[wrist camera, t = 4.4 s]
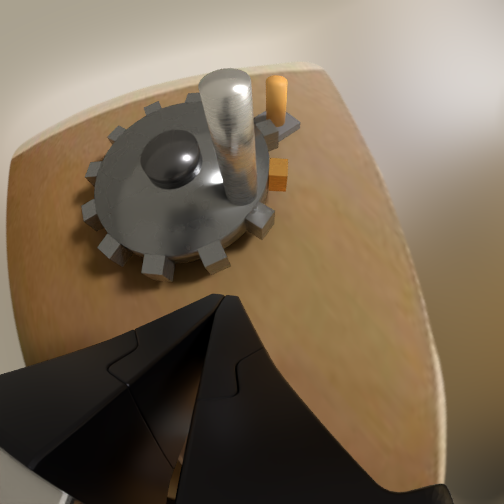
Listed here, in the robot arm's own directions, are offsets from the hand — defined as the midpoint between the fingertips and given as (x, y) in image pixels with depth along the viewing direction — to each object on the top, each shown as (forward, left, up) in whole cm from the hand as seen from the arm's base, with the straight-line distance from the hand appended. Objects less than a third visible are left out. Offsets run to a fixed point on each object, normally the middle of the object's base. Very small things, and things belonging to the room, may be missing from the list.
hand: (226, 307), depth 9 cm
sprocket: (+10, +6, -9) cm, 14 cm away
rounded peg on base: (+17, -1, -10) cm, 19 cm away
